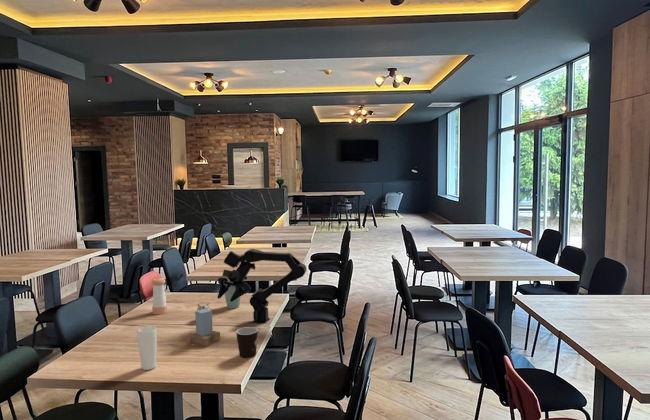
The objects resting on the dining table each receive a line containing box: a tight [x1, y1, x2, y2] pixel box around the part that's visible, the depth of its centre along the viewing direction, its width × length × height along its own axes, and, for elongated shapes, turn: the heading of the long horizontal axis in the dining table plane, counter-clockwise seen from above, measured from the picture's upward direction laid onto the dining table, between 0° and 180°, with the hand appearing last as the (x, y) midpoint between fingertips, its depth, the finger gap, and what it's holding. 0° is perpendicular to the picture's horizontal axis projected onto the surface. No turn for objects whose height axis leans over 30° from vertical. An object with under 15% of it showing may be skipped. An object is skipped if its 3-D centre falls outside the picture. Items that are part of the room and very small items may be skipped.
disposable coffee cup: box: [224, 280, 241, 309], centre depth 242 cm, size 11×11×15 cm
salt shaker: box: [150, 276, 168, 315], centre depth 234 cm, size 7×7×19 cm
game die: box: [196, 302, 211, 311], centre depth 221 cm, size 9×8×10 cm
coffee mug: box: [235, 326, 259, 359], centre depth 178 cm, size 12×9×10 cm
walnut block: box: [189, 330, 221, 348], centre depth 192 cm, size 9×9×4 cm
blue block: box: [194, 309, 214, 336], centre depth 192 cm, size 5×5×10 cm
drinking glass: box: [137, 325, 158, 371], centre depth 166 cm, size 7×7×15 cm
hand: (224, 299), depth 208 cm, fingers open, 9 cm apart
